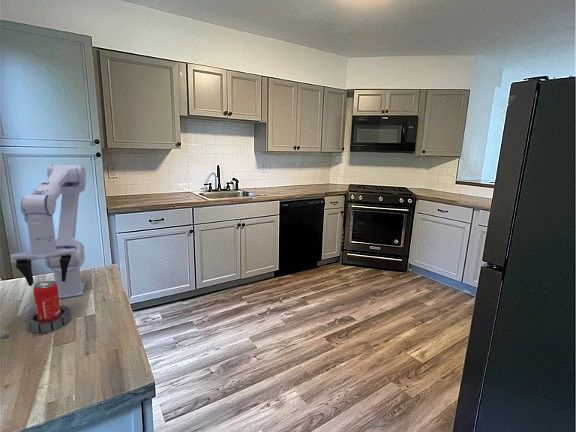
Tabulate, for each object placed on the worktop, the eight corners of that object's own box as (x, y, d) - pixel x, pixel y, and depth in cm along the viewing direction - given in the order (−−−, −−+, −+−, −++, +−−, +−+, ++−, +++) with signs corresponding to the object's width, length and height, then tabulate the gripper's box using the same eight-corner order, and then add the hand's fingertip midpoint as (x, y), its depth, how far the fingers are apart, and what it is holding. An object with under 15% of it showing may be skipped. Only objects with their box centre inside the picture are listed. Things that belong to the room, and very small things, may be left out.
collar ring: (31, 317, 91) (30, 309, 91) (73, 310, 96) (72, 303, 96) (22, 336, 83) (21, 328, 82) (68, 327, 87) (67, 319, 87)
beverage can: (49, 329, 86) (44, 289, 84) (33, 327, 87) (27, 286, 84) (66, 319, 91) (61, 281, 88) (51, 317, 92) (46, 279, 89)
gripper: (4, 243, 81) (11, 292, 84) (71, 238, 88) (76, 283, 91) (12, 236, 87) (18, 282, 90) (74, 232, 94) (79, 274, 97)
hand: (48, 282), depth 91 cm, fingers open, 7 cm apart
